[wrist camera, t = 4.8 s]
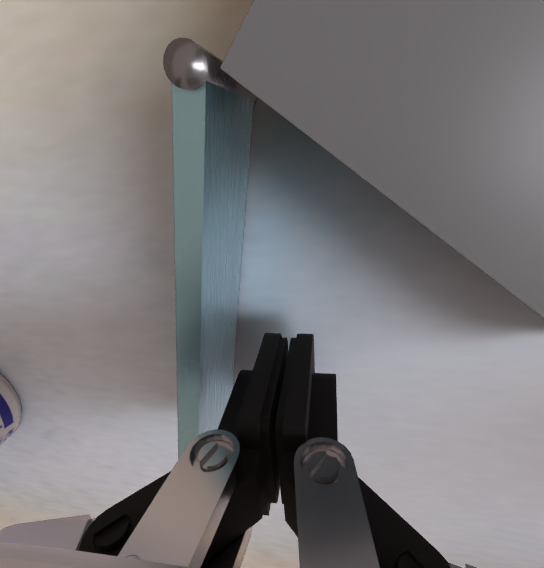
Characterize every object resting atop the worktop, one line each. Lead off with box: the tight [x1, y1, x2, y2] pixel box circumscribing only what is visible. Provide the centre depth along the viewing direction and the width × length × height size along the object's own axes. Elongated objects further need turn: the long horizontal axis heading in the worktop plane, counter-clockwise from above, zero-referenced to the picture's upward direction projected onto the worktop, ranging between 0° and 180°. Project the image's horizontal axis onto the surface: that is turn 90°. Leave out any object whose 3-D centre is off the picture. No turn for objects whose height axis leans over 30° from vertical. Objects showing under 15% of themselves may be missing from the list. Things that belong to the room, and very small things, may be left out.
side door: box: [163, 38, 257, 460], centre depth 10 cm, size 12×1×4 cm, turn 174°
